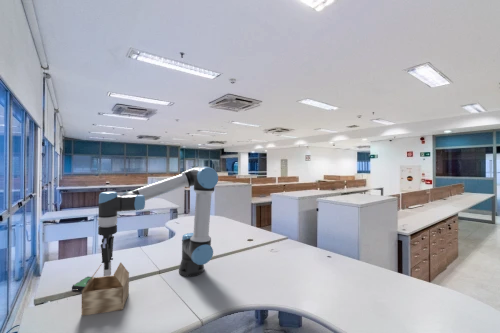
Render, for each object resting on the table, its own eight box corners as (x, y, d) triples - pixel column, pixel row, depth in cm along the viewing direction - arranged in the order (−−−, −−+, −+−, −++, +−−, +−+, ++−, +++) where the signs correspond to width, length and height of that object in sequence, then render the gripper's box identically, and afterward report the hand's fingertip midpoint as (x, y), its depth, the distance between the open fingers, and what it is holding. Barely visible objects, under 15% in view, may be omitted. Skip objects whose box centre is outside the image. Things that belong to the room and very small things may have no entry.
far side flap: (81, 291, 103) (91, 276, 104) (92, 276, 116) (101, 264, 117) (82, 291, 103) (92, 277, 104) (92, 277, 116) (101, 264, 117)
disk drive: (111, 283, 131) (87, 280, 133) (111, 278, 131) (87, 275, 133) (97, 293, 121) (71, 290, 123) (97, 288, 121) (71, 285, 123)
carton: (128, 292, 121) (129, 273, 121) (122, 310, 107) (122, 288, 107) (92, 297, 117) (92, 277, 116) (81, 316, 102) (81, 293, 102)
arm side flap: (129, 272, 121) (120, 262, 119) (123, 286, 108) (114, 274, 106) (128, 273, 120) (120, 262, 119) (122, 286, 108) (113, 275, 106)
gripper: (102, 222, 116) (102, 270, 117) (94, 229, 104) (93, 283, 104) (120, 221, 119) (119, 268, 119) (113, 228, 106) (112, 281, 107)
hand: (107, 275), depth 112 cm, fingers closed
